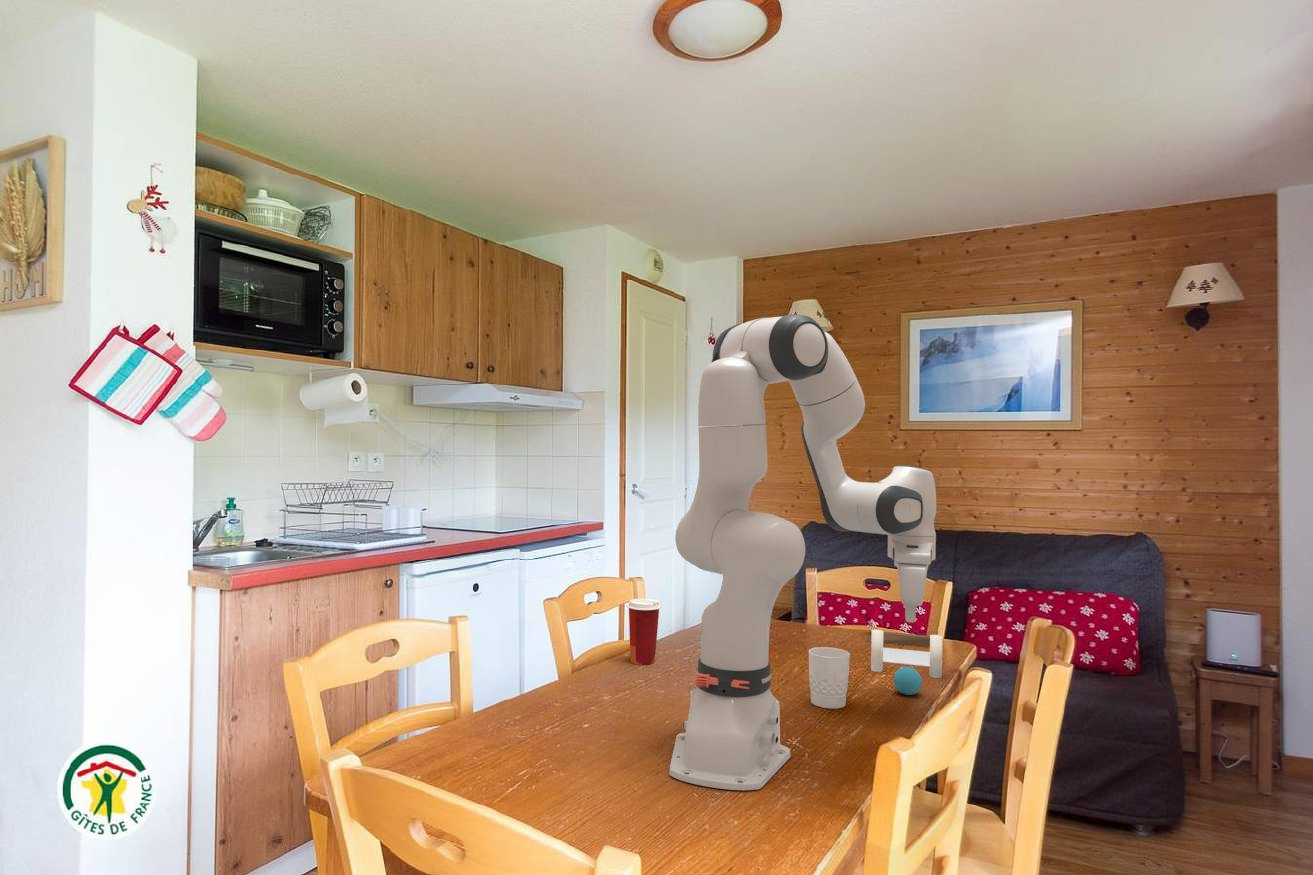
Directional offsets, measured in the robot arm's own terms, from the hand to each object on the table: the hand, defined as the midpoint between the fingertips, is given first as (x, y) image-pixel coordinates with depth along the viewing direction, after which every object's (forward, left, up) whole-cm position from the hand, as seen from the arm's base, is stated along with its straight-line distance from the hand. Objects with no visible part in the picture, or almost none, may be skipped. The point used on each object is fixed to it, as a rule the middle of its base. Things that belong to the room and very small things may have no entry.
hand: (910, 620), depth 146 cm
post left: (+25, +6, -17) cm, 31 cm away
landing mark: (+40, 0, -17) cm, 44 cm away
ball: (+9, 0, -14) cm, 17 cm away
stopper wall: (+54, 0, -17) cm, 57 cm away
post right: (+25, -6, -17) cm, 31 cm away
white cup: (-3, +15, -17) cm, 23 cm away
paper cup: (+11, +58, -17) cm, 62 cm away
